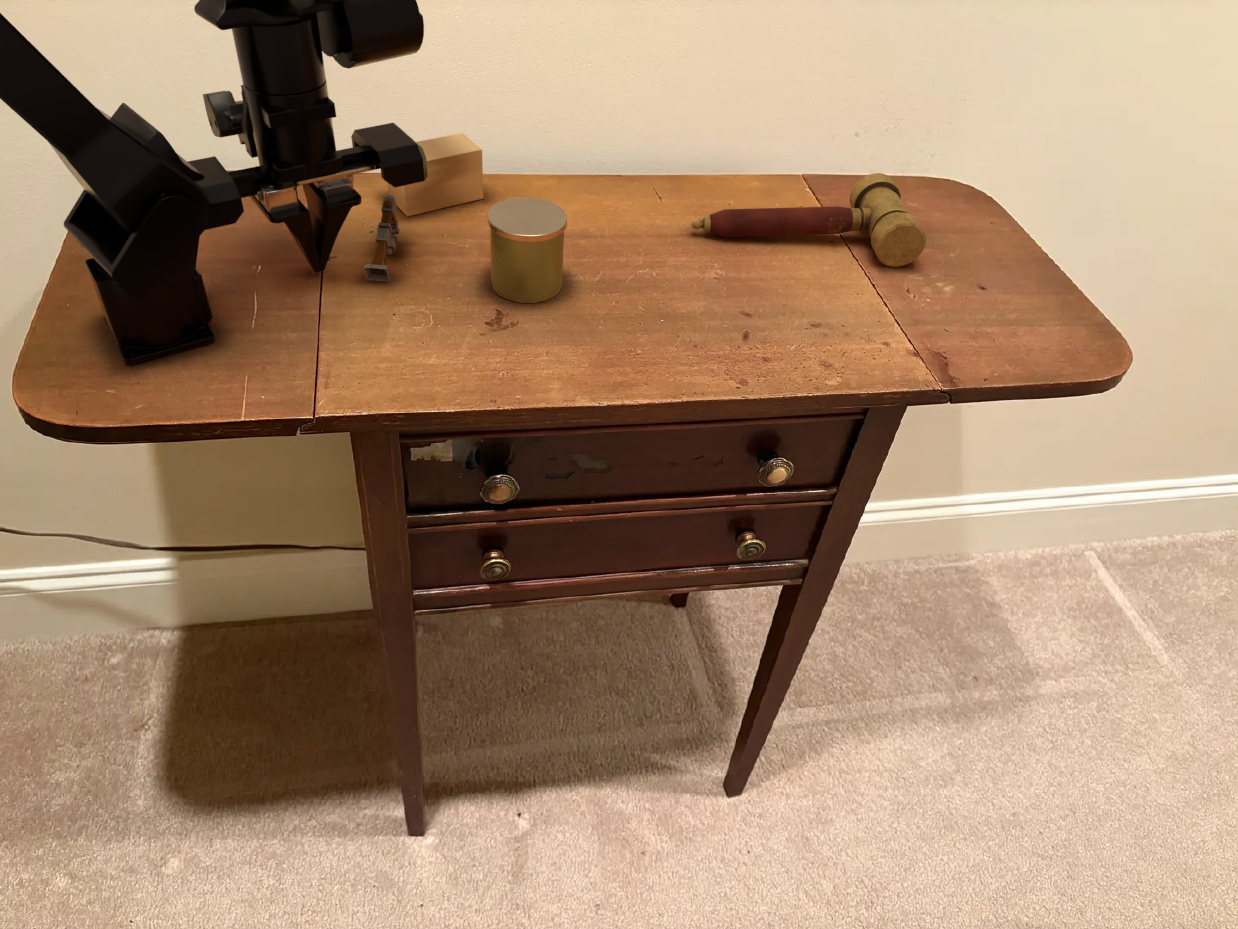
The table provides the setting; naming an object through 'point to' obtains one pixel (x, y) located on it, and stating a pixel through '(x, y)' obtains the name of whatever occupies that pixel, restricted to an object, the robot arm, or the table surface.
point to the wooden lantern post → (384, 241)
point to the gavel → (835, 221)
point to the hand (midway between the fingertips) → (317, 269)
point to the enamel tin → (527, 249)
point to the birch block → (444, 176)
